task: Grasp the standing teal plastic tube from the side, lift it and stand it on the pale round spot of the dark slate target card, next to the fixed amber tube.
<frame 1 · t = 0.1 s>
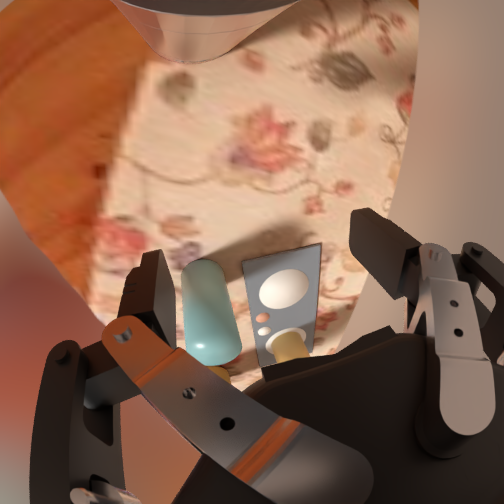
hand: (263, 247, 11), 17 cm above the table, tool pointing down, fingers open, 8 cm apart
teal tube: (202, 276, 33), on the table
target card: (284, 316, 41), on the table
amber tube: (285, 339, 44), resting on target card
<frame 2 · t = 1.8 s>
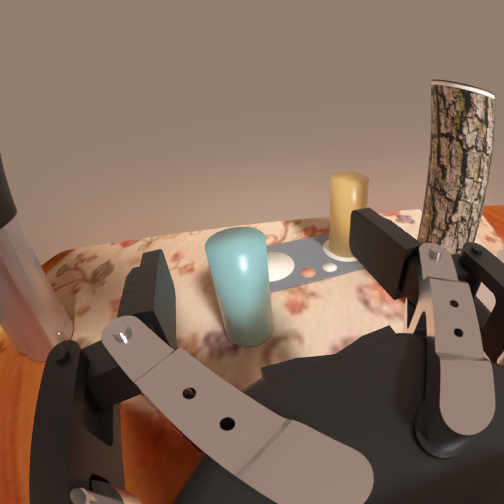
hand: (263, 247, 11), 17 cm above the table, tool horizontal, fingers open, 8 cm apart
teal tube: (249, 328, 29), on the table
target card: (309, 258, 39), on the table
amber tube: (345, 250, 40), resting on target card
brown bark-textured cylinder: (427, 299, 29), on the table
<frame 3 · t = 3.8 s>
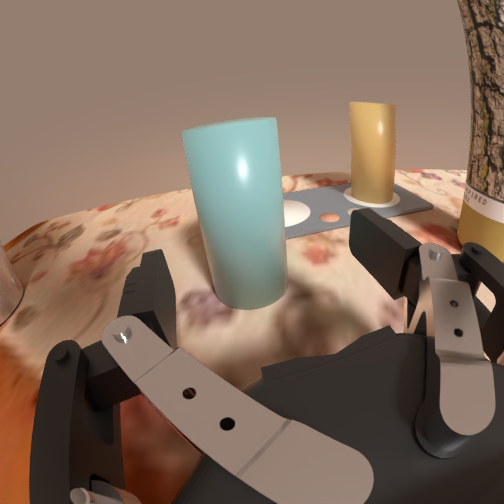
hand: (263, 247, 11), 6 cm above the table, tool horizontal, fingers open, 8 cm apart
teal tube: (251, 284, 20), on the table
target card: (328, 206, 29), on the table
amber tube: (371, 198, 30), resting on target card
brown bark-textured cylinder: (483, 249, 19), on the table
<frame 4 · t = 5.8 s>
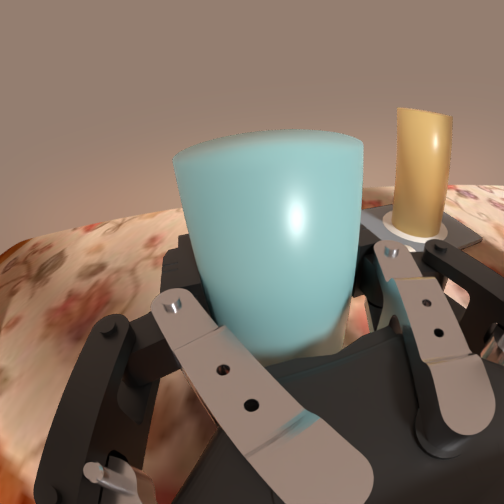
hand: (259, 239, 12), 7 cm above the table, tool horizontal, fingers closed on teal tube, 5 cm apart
teal tube: (284, 375, 13), on the table, touching gripper
target card: (367, 240, 23), on the table
amber tube: (415, 228, 24), resting on target card
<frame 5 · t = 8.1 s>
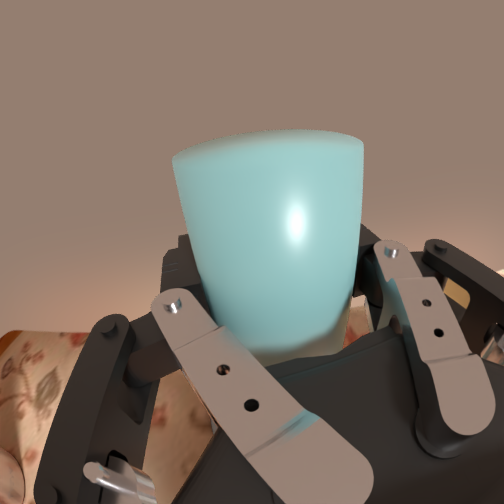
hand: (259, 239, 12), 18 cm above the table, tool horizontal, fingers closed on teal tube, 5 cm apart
teal tube: (284, 375, 13), point 11 cm above the table, touching gripper
amber tube: (401, 384, 21), resting on target card
when the fingers open (8 cm above the table, at t = 10.5 s): teal tube drops 1 cm, resting on target card.
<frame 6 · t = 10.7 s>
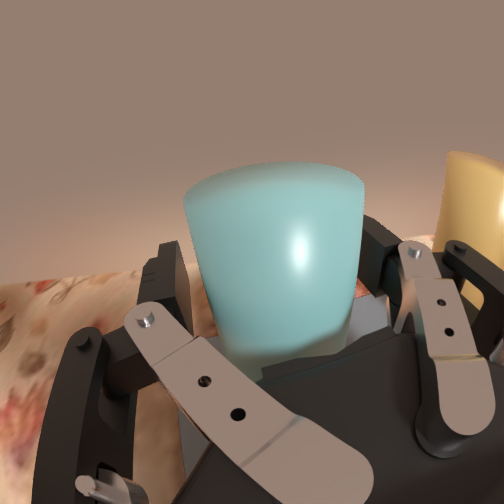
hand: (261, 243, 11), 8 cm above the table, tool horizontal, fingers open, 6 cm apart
teal tube: (286, 387, 14), resting on target card
target card: (377, 357, 15), on the table
amber tube: (442, 325, 15), resting on target card
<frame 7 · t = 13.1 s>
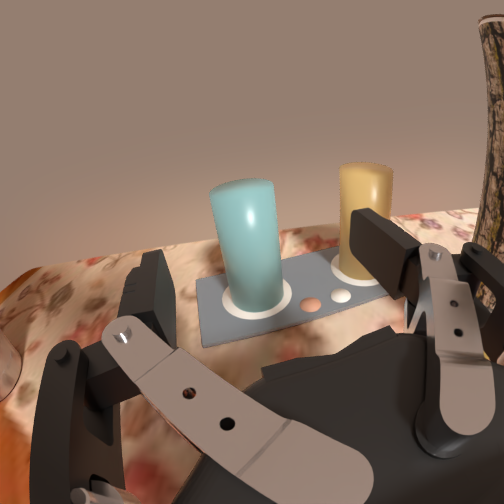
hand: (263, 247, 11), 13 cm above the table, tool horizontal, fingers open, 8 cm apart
teal tube: (257, 294, 27), resting on target card
target card: (312, 283, 28), on the table
amber tube: (361, 269, 29), resting on target card
brown bark-textured cylinder: (471, 337, 18), on the table
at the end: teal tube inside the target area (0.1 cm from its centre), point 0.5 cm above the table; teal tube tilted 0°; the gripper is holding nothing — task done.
